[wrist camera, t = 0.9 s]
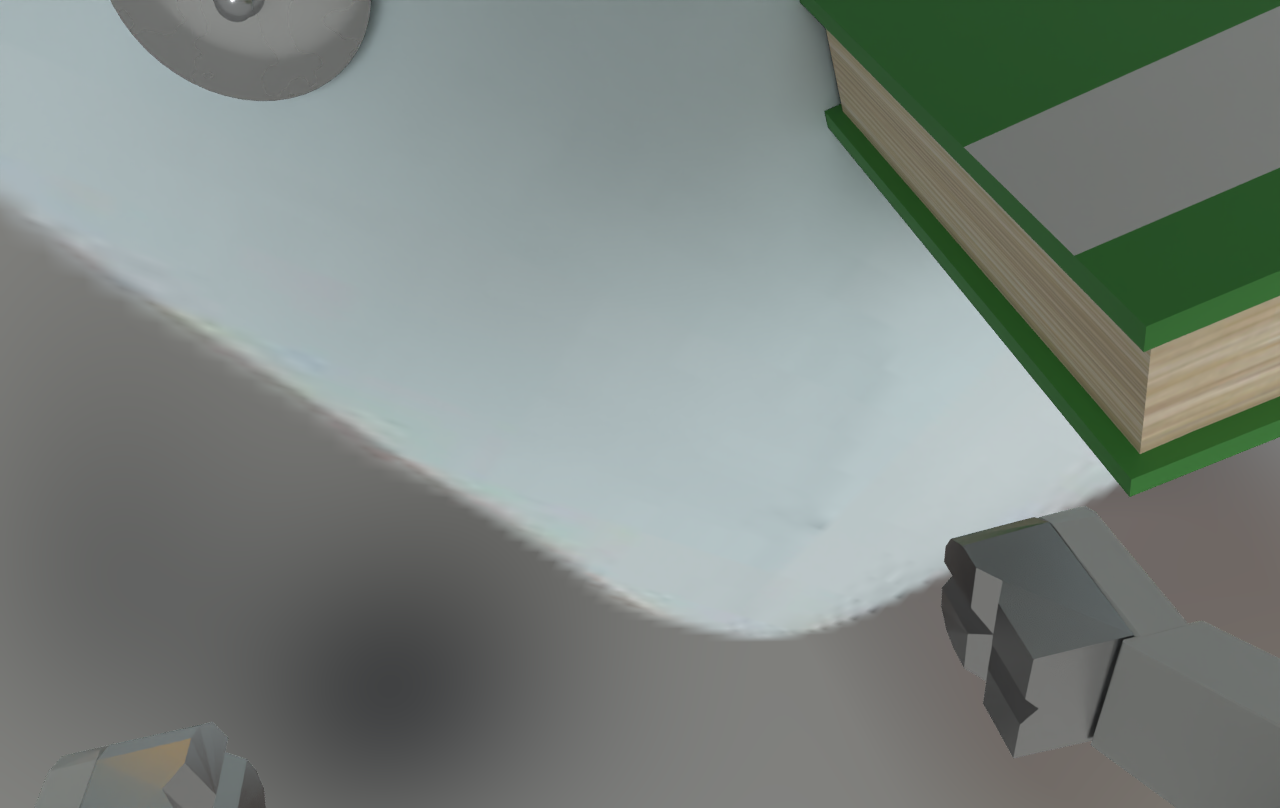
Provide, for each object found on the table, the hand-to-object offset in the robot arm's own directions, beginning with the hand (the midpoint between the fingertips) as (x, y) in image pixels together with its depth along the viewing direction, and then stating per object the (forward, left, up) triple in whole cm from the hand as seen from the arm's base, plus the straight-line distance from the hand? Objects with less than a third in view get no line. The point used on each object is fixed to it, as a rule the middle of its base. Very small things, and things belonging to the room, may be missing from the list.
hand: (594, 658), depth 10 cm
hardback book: (+7, +24, -32) cm, 41 cm away
